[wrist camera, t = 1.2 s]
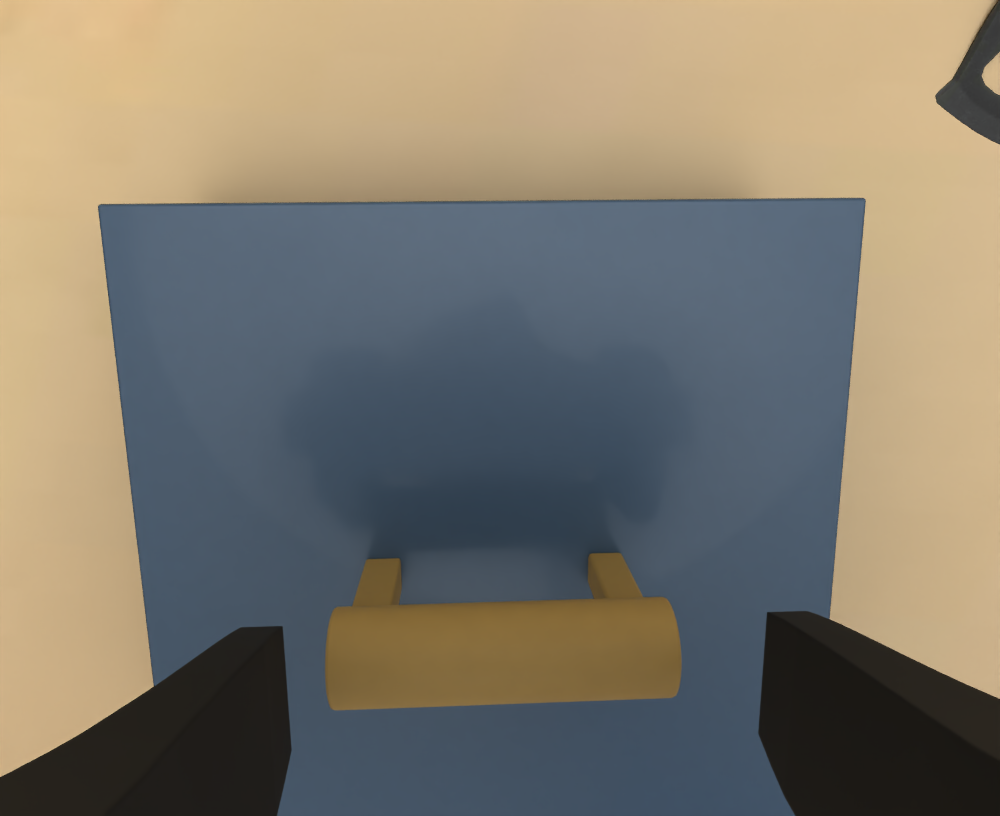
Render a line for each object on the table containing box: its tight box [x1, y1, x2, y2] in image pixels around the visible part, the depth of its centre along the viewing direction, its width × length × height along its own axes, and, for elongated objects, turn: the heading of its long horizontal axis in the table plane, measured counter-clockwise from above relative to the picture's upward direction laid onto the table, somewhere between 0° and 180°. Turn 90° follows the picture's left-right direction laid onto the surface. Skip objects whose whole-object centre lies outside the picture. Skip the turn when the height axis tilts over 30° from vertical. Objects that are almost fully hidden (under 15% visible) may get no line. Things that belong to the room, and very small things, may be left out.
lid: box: [98, 198, 866, 816], centre depth 14 cm, size 14×14×5 cm
